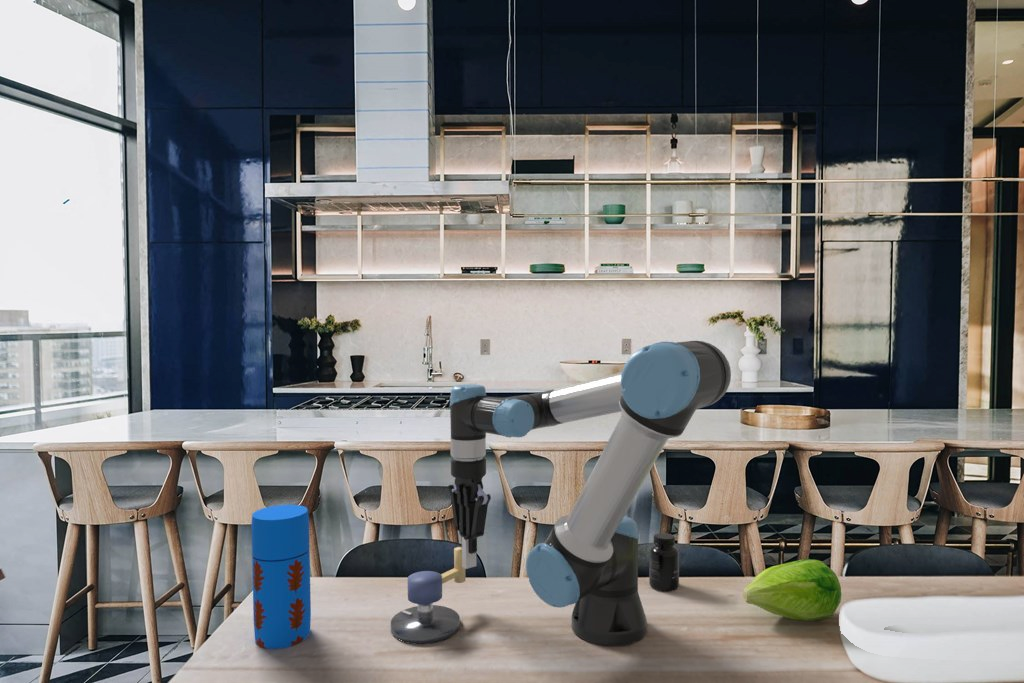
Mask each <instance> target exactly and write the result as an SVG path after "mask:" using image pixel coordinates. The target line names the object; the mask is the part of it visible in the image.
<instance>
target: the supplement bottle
mask: <svg viewBox="0 0 1024 683" xmlns="http://www.w3.org/2000/svg"><path fill="white" fill-rule="evenodd" d="M652 542H653V543H652V544H653V545H652V546H651V547H650V548H649V552H648V554H649V558H648V560H649V570H648V571H649V572H648V574H649V575H648V578H649V580H648V582H649V586H650V587H651V588H652V589H653V590H656V591H659V592H664V593H665V592H666V593H668V592H675V591H676V590H678V589H679V587H680V551H679V550H678V547H676V546H675V545H676V537H675V535H673V534H671V533H667V532H658V533H654V535H653V541H652Z"/></svg>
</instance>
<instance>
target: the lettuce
mask: <svg viewBox="0 0 1024 683" xmlns="http://www.w3.org/2000/svg"><path fill="white" fill-rule="evenodd" d="M742 597H743V598H742V599H743V600H744V602H745V603H747V604H749V605H754V606H756V607H759V608H760V609H762V610H764V611H766V612H768V613H771V614H773V615H777V616H781V617H785V618H787V619H790V620H796V621H807V622H808V621H810V622H813V621H815V622H816V621H820V620H824V619H827V618H831V617H833V615H834V614H835V612H836V610H837V609H838V607H839V606H840V603H841V602H842V587H841V584H840V581H839V578H838V576H837V574H836V572H835V571H834V570H833V569H831V568H830V567H829V566H828V565H827V564H825V563H824V562H823V561H822V560H819V559H809V558H803V559H799V560H794V561H790V562H789V561H788V562H785V563H782V564H781V563H780V564H777V565H773V566H770V567H768V568H765V569H764V570H762V571H761V572H760V573H758V575H756V576H755V577H754V578H753V580H752V581H751V582H750V583H749V584H748V585H747V586H746V587H745V588H744V589H743V592H742Z"/></svg>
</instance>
